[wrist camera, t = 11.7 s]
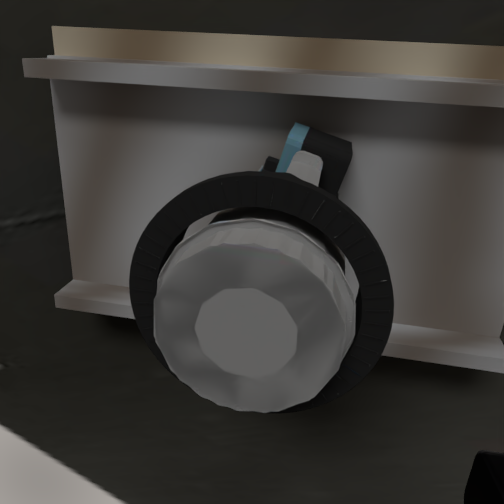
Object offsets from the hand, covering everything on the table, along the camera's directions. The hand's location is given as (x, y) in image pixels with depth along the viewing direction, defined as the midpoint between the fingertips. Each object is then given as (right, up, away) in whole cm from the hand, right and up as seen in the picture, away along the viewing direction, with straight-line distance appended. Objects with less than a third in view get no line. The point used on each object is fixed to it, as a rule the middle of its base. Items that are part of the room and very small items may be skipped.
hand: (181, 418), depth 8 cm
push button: (+3, +5, +10) cm, 12 cm away
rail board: (+2, +5, +12) cm, 13 cm away
